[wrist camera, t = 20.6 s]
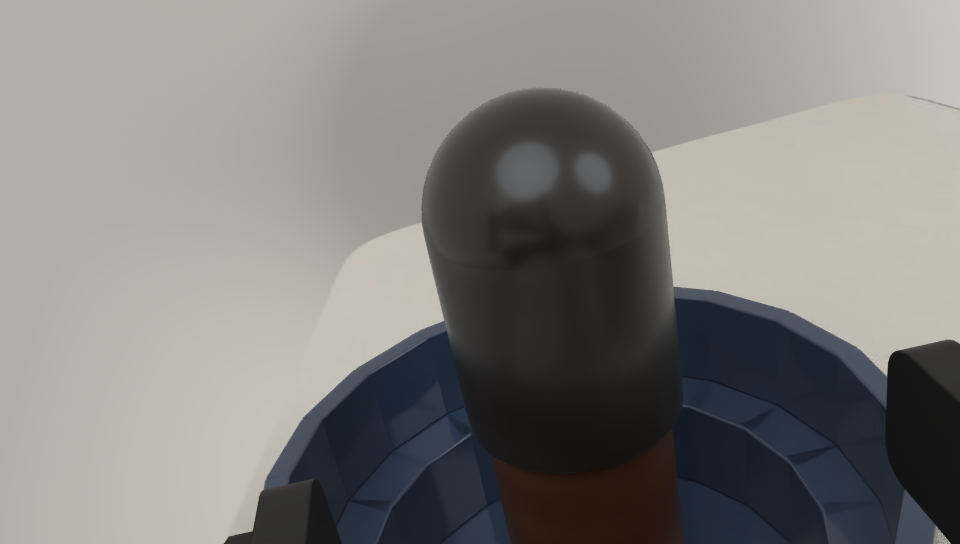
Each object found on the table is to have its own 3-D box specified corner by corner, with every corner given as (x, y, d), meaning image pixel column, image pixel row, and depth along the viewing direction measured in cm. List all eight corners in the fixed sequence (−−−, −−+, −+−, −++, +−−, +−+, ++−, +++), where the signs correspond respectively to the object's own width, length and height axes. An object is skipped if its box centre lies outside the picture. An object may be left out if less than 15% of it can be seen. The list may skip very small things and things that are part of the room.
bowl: (308, 1044, 15) (195, 847, 12) (341, 500, 28) (288, 346, 25) (1089, 864, 15) (1144, 632, 12) (764, 407, 28) (757, 244, 25)
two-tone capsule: (533, 716, 19) (398, 161, 13) (506, 564, 23) (395, 90, 17) (733, 672, 19) (689, 99, 13) (671, 528, 23) (616, 42, 17)
